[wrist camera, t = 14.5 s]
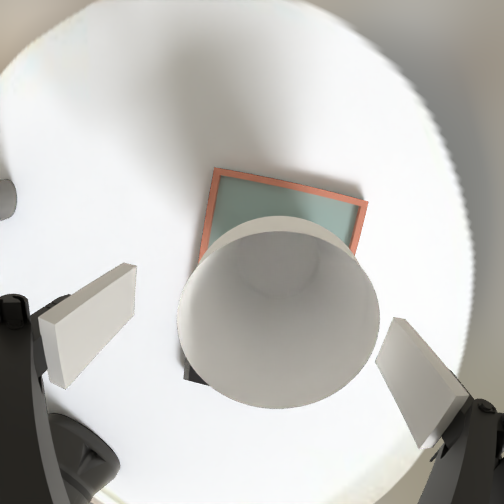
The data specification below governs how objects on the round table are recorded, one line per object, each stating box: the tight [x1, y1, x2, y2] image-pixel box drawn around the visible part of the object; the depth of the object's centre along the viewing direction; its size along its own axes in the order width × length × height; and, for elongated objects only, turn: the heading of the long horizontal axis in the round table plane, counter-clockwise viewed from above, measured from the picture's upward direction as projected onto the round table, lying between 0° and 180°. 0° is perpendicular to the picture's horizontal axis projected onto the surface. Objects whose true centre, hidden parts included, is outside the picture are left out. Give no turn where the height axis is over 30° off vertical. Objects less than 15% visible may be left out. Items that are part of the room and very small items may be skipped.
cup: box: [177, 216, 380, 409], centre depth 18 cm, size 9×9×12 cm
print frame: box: [198, 167, 368, 263], centre depth 23 cm, size 12×12×1 cm
